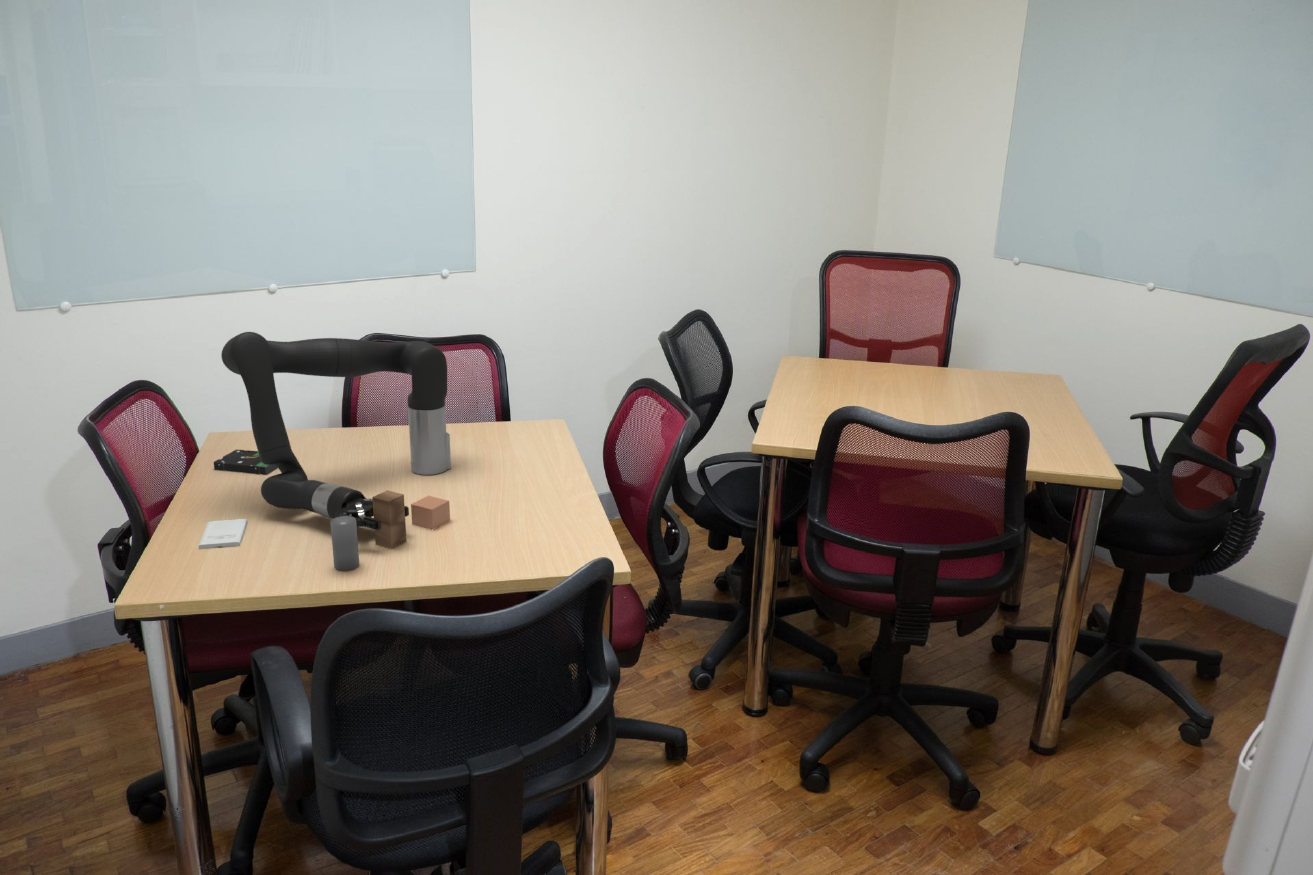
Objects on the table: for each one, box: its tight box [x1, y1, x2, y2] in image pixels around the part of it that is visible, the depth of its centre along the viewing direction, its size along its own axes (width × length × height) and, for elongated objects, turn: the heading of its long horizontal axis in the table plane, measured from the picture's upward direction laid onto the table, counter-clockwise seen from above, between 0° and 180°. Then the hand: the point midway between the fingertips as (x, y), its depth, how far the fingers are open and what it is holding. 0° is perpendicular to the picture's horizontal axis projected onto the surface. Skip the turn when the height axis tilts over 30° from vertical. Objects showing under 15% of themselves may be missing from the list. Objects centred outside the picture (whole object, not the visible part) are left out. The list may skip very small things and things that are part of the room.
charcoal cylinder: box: [329, 516, 360, 572], centre depth 205 cm, size 5×5×10 cm
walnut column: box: [371, 490, 407, 550], centre depth 215 cm, size 5×5×11 cm
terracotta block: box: [410, 495, 451, 530], centre depth 227 cm, size 6×6×5 cm
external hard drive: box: [198, 518, 248, 550], centre depth 218 cm, size 2×8×12 cm
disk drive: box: [213, 449, 279, 476], centre depth 258 cm, size 10×3×15 cm
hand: (394, 518), depth 215 cm, fingers open, 8 cm apart
